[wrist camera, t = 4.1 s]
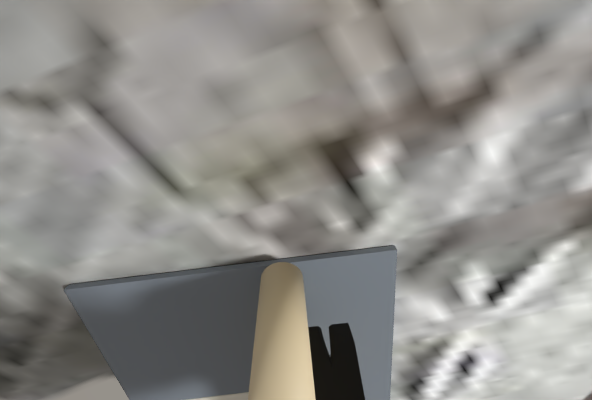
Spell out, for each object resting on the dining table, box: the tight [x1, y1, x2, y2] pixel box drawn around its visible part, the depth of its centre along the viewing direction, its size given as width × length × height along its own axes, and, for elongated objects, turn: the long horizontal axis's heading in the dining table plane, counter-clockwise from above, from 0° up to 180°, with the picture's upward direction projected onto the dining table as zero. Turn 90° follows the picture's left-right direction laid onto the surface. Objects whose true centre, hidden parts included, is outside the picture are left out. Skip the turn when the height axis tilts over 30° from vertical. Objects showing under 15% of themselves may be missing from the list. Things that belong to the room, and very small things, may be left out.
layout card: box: [64, 246, 397, 400], centre depth 14 cm, size 15×13×1 cm
